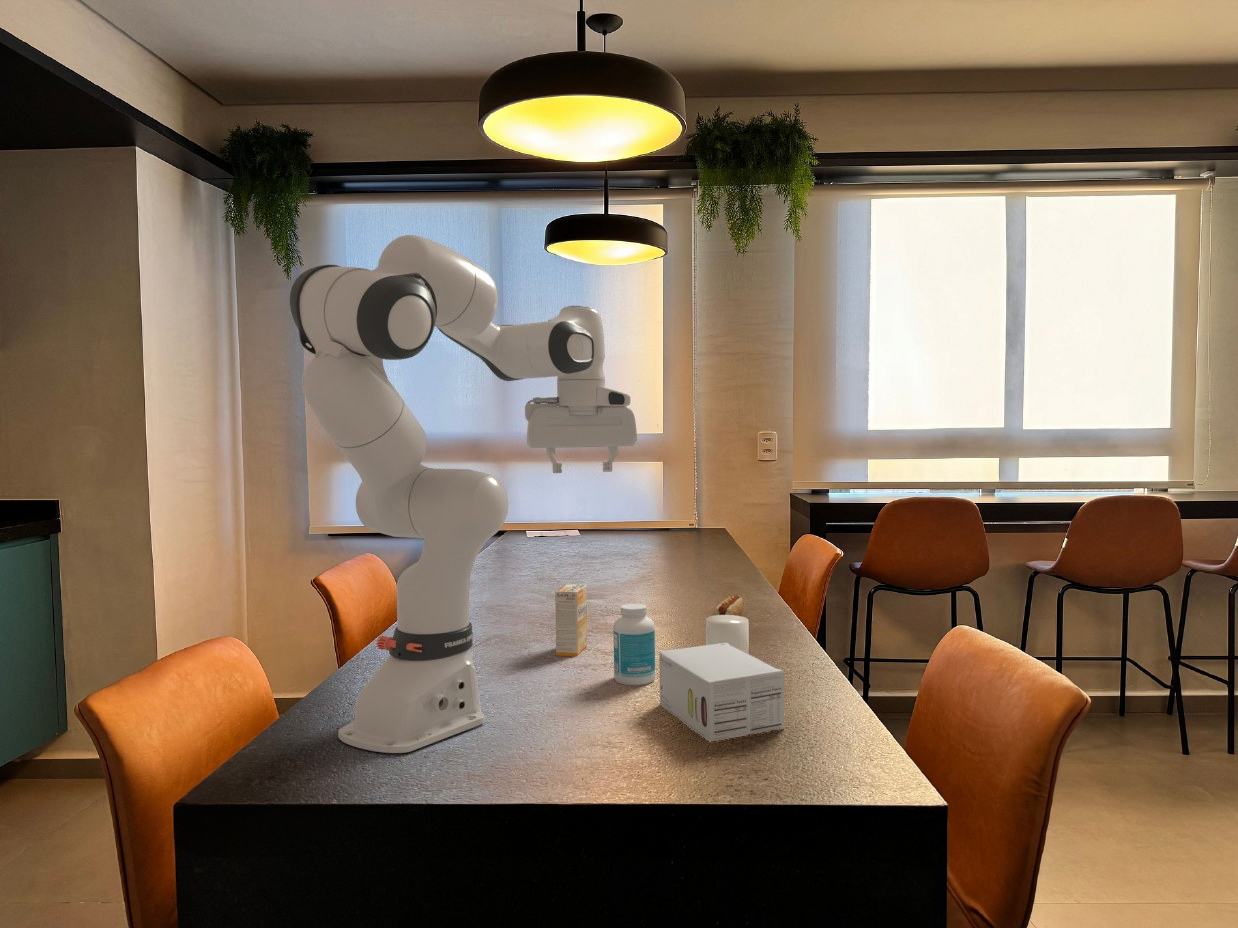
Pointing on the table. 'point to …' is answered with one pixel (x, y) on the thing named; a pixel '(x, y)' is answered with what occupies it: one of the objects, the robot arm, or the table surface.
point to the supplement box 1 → (571, 619)
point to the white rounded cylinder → (728, 631)
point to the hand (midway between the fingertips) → (582, 472)
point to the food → (730, 606)
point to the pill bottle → (634, 646)
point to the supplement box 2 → (721, 691)
